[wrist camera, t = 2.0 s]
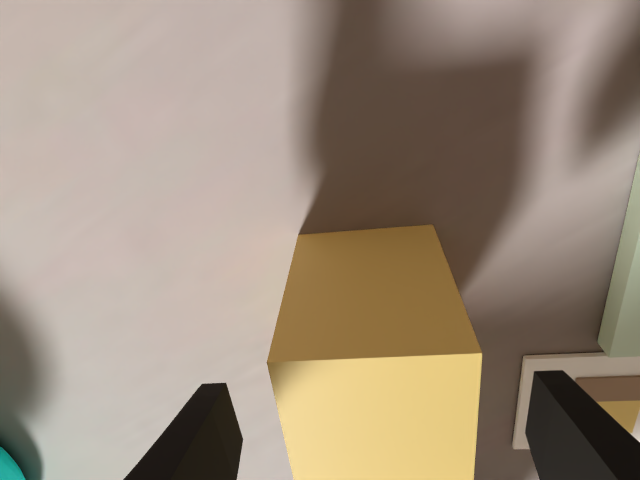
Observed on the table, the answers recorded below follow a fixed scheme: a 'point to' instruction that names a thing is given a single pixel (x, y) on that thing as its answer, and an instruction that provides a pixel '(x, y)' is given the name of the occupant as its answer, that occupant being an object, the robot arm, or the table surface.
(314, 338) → the top brick
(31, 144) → the table surface
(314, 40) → the table surface
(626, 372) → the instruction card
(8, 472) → the donuts
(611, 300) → the build plate
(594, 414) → the robot arm
